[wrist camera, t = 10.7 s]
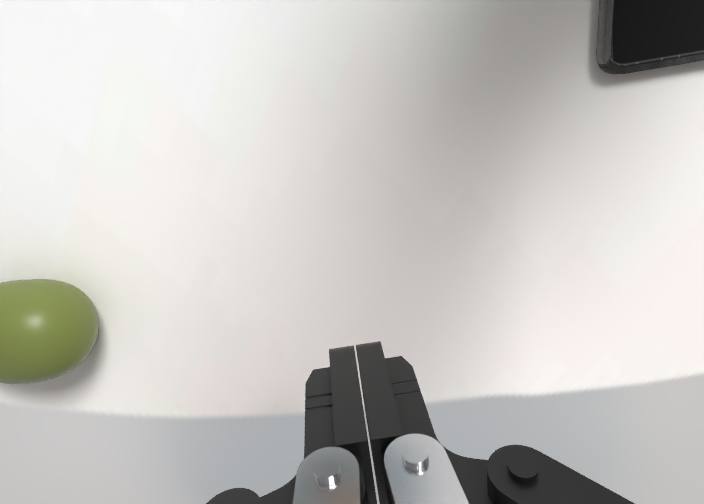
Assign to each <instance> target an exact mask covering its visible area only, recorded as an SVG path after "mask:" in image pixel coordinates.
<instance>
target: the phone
mask: <svg viewBox="0 0 704 504" xmlns="http://www.w3.org/2000/svg"><path fill="white" fill-rule="evenodd" d="M596 55H597V62H598V64H599V66H600V68H601V69H602V70H603V71H605V72H607V73H611V74H625V73H631V72H637V71H643V70H649V69H655V68H661V67H667V66H672V65H678V64H684V63H690V62H696V61H702V60H704V0H600V3H599V19H598V36H597V52H596Z"/></svg>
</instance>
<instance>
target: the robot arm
mask: <svg viewBox="0 0 704 504" xmlns="http://www.w3.org/2000/svg"><path fill="white" fill-rule="evenodd" d="M356 350H357V357H358V364H359V371H360V377H361V384H362V391H363V398H364V405H365V411H366V418H367V424H368V431H369V437H370V443H371V450H372V456H373V462H374V469H375V476H376V482H377V488H378V495H379V501H380V504H634V503H633V502H631V501H629V500H627V499H625V498H623V497H622V496H620V495H618V494H616V493H614V492H612V491H610V490H609V489H607V488H605V487H603V486H601V485H600V484H598V483H596V482H594V481H592V480H591V479H588V478H587V477H585V476H583V475H581V474H580V473H578V472H576V471H574V470H572V469H570V468H569V467H567V466H565V465H563V464H561V463H559V462H558V461H556V460H554V459H552V458H550V457H548V456H547V455H545V454H543V453H541V452H539V451H537V450H535V449H533V448H530V447H527V446H522V445H509V446H504V447H502V448H499V449H498V450H496V451H495V452H494V453H493V454H492V455H491V456H490V458H489V460H480V459H473V458H467V457H462V456H459V455H457V454H454V453H452V452H451V451H449V450H447V449H446V448H445V447H444V446H442V444H441V443H440V442H439V441H438V439H437V438H436V435H435V433H434V430H433V427H432V424H431V421H430V418H429V415H428V412H427V409H426V406H425V403H424V400H423V397H422V394H421V392H420V388H419V385H418V382H417V379H416V376H415V373H414V370H413V367H412V366H411V365H410V364H409V363H408V362H407V361H406V360H405V359H404V358H403V357H402V356H399V357H392V358H386V359H385V358H384V354H383V350H382V345H381V342H380V341H379V342H373V343H366V344H360V345H356ZM329 357H330V367H328V368H322V369H315V370H313V371H312V373H311V375H310V376H309V378H308V380H307V382H306V393H305V397H306V400H305V411H306V412H305V449H304V460H303V461H302V463H301V464H300V466H299V468H298V470H297V474H296V476H295V477H294V478H293V479H292V480H291V481H290V482H289V483H287V484H286V485H284V486H283V487H281V488H279V489H277V490H275V491H273V492H271V493H269V494H267V495H265V496H262V497H259V496H258V495H257V494H256V493H255V492H253V491H251V490H249V489H245V488H234V489H230V490H227V491H224V492H222V493H220V494H218V495H216V496H215V497H214V498H212V499H211V500H210V501H209V502H208V503H206V504H377V500H376V493H375V486H374V479H373V472H372V466H371V459H370V452H369V446H368V439H367V432H366V425H365V419H364V411H363V405H362V398H361V391H360V385H359V378H358V371H357V364H356V358H355V351H354V346H347V347H341V348H334V349H329Z"/></svg>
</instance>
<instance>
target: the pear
mask: <svg viewBox="0 0 704 504" xmlns="http://www.w3.org/2000/svg"><path fill="white" fill-rule="evenodd" d="M98 330H99V320H98V315H97V311H96V309H95V307H94V305H93V303H92V301H91V300H90V299H89V298H88V296H87V295H86V294H85V293H83V292H82V291H81V290H80V289H78V288H76V287H75V286H73V285H70V284H68V283H65V282H61V281H56V280H48V279H32V280H17V281H9V282H2V283H0V382H1V383H10V384H23V383H33V382H39V381H44V380H48V379H52V378H55V377H57V376H60V375H62V374H64V373H66V372H68V371H70V370H72V369H73V368H75V367H76V366H77V365H79V364H80V363H81V362H82V361H83V360H84V359H85V358H86V357H87V356H88V354H89V353H90V352H91V350H92V348H93V346H94V344H95V342H96V339H97V336H98Z"/></svg>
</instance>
